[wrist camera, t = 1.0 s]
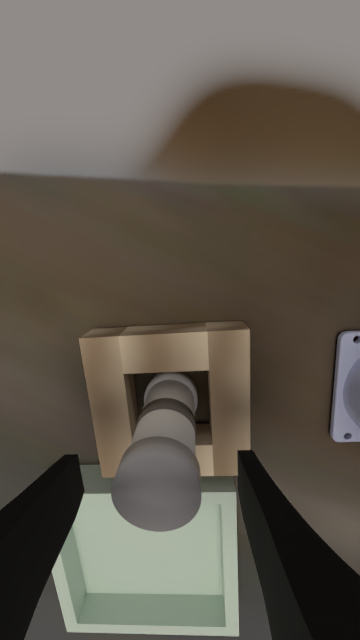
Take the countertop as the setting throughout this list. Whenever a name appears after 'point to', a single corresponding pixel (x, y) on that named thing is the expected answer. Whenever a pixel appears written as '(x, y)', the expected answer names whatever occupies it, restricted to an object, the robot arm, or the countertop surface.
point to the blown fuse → (161, 458)
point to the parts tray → (150, 567)
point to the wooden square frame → (170, 356)
